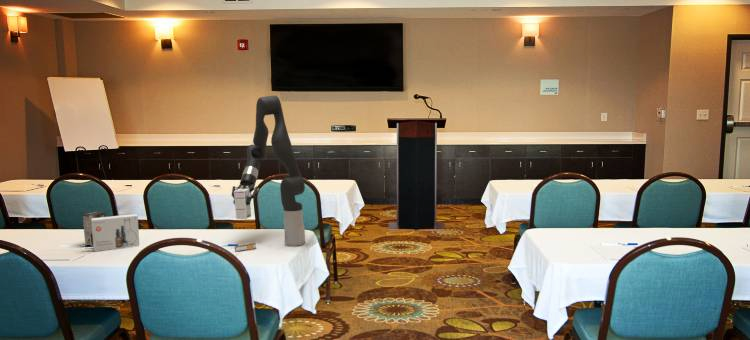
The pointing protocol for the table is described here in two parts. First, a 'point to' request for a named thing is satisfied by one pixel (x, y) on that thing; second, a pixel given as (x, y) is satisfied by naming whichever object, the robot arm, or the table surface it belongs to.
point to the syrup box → (242, 204)
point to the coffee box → (90, 225)
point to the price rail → (245, 247)
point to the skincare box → (115, 232)
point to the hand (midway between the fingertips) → (241, 204)
